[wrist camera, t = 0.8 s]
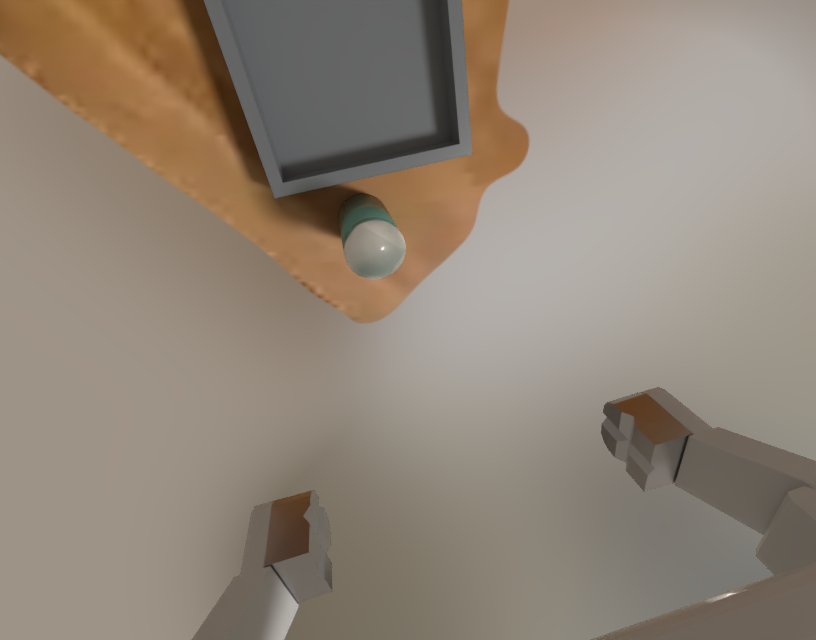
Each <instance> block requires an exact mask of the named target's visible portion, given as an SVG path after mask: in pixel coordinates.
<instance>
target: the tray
mask: <svg viewBox="0 0 816 640" xmlns="http://www.w3.org/2000/svg"><path fill="white" fill-rule="evenodd" d="M204 3H205V6H206V8H207V11H208V14H209V17H210V20H211V22H212V25H213V28H214V31H215V34H216V36H217V39H218V42H219V45H220V48H221V50H222V53H223V56H224V59H225V61H226V64H227V67H228V70H229V73H230V75H231V78H232V81H233V84H234V87H235V89H236V92H237V95H238V98H239V100H240V103H241V106H242V109H243V112H244V114H245V117H246V120H247V123H248V126H249V128H250V131H251V134H252V137H253V140H254V142H255V145H256V148H257V151H258V153H259V156H260V159H261V162H262V165H263V167H264V170H265V173H266V176H267V179H268V181H269V184H270V187H271V190H272V192H273V195H274V198H279V197H284V196H288V195H292V194H297V193H301V192H306V191H310V190H315V189H319V188H324V187H328V186H333V185H337V184H342V183H346V182H351V181H355V180H360V179H364V178H369V177H373V176H377V175H382V174H386V173H391V172H395V171H400V170H404V169H409V168H413V167H418V166H422V165H427V164H431V163H436V162H440V161H445V160H449V159H453V158H458V157H462V156H467V155H471V154H472V143H471V129H470V114H469V100H468V86H467V71H466V57H465V42H464V28H463V13H462V0H204Z"/></svg>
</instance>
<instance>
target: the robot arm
mask: <svg viewBox="0 0 816 640" xmlns="http://www.w3.org/2000/svg"><path fill="white" fill-rule="evenodd" d="M603 413H604V414H605V415H606V416H607V418H606V419H605V420H604V422H603V423H602V426H601V434H602V437H603V440H604V443H605V444H606V446H607V448H608V450H609V451H610V452H611V453H612V454H613V456H614V457H616V458H618V459H620V460H622V461H624V462H626V471H627V472H628V474H629V475H630V476H631V477H632V478H633V479H634V481H635V482H636V483H637V484H638V485H639V486H640V488H641V489H642V490H643V491H644V492H645V491H648V490H652V489H656V488H659V487H663V486H666V485H669V484H673V483H675V485H676V486H678V487H679V488H681V489H683V490H684V491H686V492H688V493H690V494H692V495H693V496H695V497H697V498H699V499H701V500H702V501H704V502H706V503H708V504H709V505H711V506H713V507H715V508H716V509H718V510H720V511H722V512H724V513H725V514H727V515H729V516H731V517H733V518H734V519H736V520H738V521H740V522H741V523H743V524H745V525H747V526H748V527H750V528H752V529H754V530H756V531H757V532H759V533H761V534H763V535H764V536H763V537H762V539H761V541H760V543H759V545H758V546H757V548H756V556H757V557H758V558H759V560H760V561H761V562H762V563H763V564H764V565H765V566H766V567H767V568H768V569H769V570H770V571H771V572H772V573H773V574H774V576H772V577H769V578H766V579H763V580H760V581H757V582H754V583H751V584H749V585H746V586H743V587H740V588H737V589H734V590H732V591H729V592H726V593H723V594H720V595H717V596H714V597H711V598H709V599H706V600H703V601H700V602H697V603H694V604H692V605H689V606H686V607H683V608H680V609H677V610H674V611H671V612H669V613H666V614H663V615H660V616H657V617H655V618H652V619H649V620H646V621H643V622H640V623H637V624H634V625H631V626H629V627H626V628H623V629H620V630H617V631H614V632H612V633H609V634H606V635H603V636H600V637H597V638H594V639H591V640H816V461H814V460H811V459H808V458H806V457H803V456H800V455H797V454H794V453H791V452H788V451H785V450H783V449H779V448H777V447H774V446H771V445H768V444H765V443H762V442H760V441H756V440H754V439H751V438H748V437H745V436H742V435H739V434H737V433H733V432H730V431H728V430H725V429H722V428H719V427H717V428H712V427H710V426H709V425H708V424H707V423H705V422H704V421H703V420H702V419H700V418H699V417H698V416H696V415H695V414H694V413H693V412H692V411H691V410H689V409H688V408H687V407H686V406H684V405H683V404H682V403H681V402H679V401H678V400H677V399H676V398H674V397H673V396H672V395H671V394H669V393H668V392H667V391H666V390H664V389H662V388H659V387H657V388H653V389H650V390H646V391H643V392H640V393H635V394H632V395H629V396H626V397H622V398H619V399H616V400H613V401H610V402H607V403H606V404H605V405H604V409H603ZM330 547H331V531H330V524H329V519H328V516H327V513H326V511H325V509H324V508H323V507H321V506H319V497H318V495H317V494H316V492H315V490H312V491H309V492H305V493H301V494H297V495H294V496H290V497H286V498H282V499H279V500H275V501H272V502H268V503H265V504H261V505H258V506H255V507H254V509H253V511H252V513H251V517H250V522H249V528H248V535H247V540H246V545H245V551H244V556H243V562H242V568H241V574H240V575H239V576H236V577H234V578H233V579H232V581H231V582H230V584H229V586H228V587H227V588H226V590H225V591H224V593H223V594H222V596H221V597H220V599H219V600H218V602H217V603H216V605H215V606H214V608H213V609H212V611H211V612H210V613H209V615H208V616H207V618H206V619H205V621H204V622H203V624H202V625H201V627H200V628H199V630H198V631H197V633H196V634H195V636H194V637H193V639H192V640H284V638H285V636H286V634H287V631H288V629H289V627H290V625H291V623H292V620H293V618H294V616H295V613H296V611H297V609H298V606H299V605H298V603H301V602H304V601H307V600H310V599H312V598H315V597H318V596H321V595H324V594H326V593H329V592H332V562H331V561H330V559H329V557H328V555H327V552H328V550H329V548H330Z"/></svg>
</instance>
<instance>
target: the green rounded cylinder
mask: <svg viewBox="0 0 816 640" xmlns="http://www.w3.org/2000/svg"><path fill="white" fill-rule="evenodd" d="M339 226H340V232H341V237H342V243H343V249H344V255H345V259H346V262H347V264H348V266H349V267H350V268H351V269H352V271H354V272H355V273H356V274H358V275H359V276H361V277H364V278H368V279H380V278H384V277H387V276H389V275H391V274H392V273H393V272H395V271H396V270H397V269H398V268H399V266H400V265H401V263H402V262H403V259H404V256H405V251H406V247H405V241H404V238H403V236H402V234H401V233H400V231H399V229H398V228H397V226H396V224H395V223H394V221H393V219H392V218H391V216H390V214H389V212H388V211H387V209H386V207H385V206H384V204H383V203H382V202H381V201H380V200H379V199H378V198H376V197H374V196H372V195H368V194H359V195H355V196H353V197H351V198H349V199H348V200H347V201H346V202H345V203H344V204H343V206H342V207H341V209H340V212H339Z"/></svg>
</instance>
